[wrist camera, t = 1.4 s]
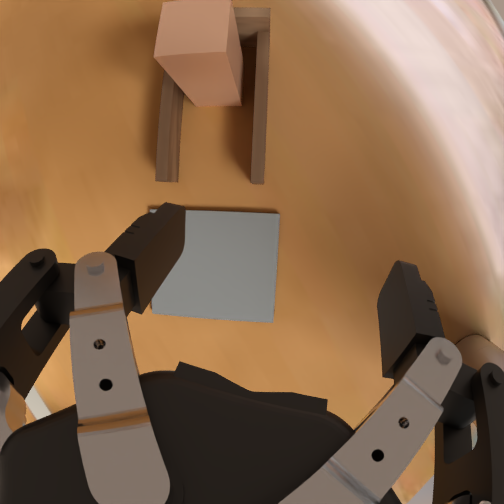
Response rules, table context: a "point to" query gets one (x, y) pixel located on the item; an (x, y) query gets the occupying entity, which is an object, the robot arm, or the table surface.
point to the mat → (223, 268)
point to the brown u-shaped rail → (254, 35)
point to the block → (202, 50)
